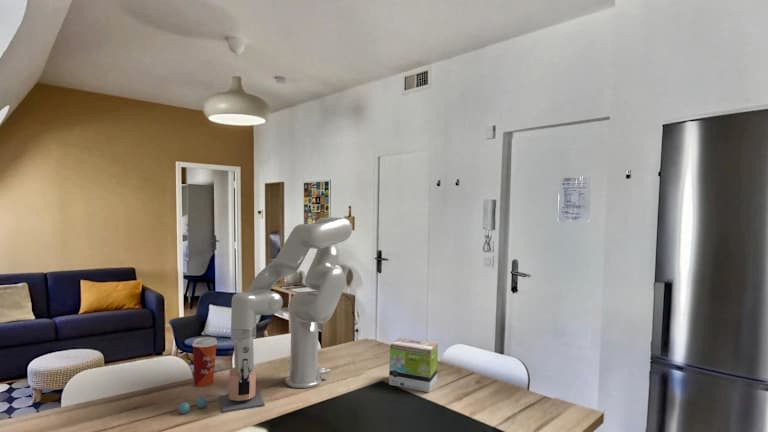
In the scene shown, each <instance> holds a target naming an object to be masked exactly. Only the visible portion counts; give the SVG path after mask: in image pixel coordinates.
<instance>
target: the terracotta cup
mask: <svg viewBox="0 0 768 432" xmlns="http://www.w3.org/2000/svg"><path fill="white" fill-rule="evenodd" d="M241 371H243V370H241ZM242 375H243V374H242ZM256 375H257V372H256V367H255V366H254V370H253V371H252V372H251V371H250V370H249V380H250V390H249V394H246V395H238V383H239V382H240V379H239V377H240V376H239V373H238V372H237V370H236V367H235V366H234V367H232V368H230V369H229V372H228V394H229V399H230V400H235V401H241V400H248V399H250V398H252V397H254V396H255V390H256V387H257V385H256V381H257V378H256Z"/></svg>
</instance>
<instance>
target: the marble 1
mask: <svg viewBox="0 0 768 432" xmlns="http://www.w3.org/2000/svg"><path fill="white" fill-rule="evenodd" d="M190 410H191V405H190V403H189V402H187V401H186V402H182V403H180V404H179V406H178V412H179V413H180V414H183V415H185V414H187V413H188V412H189V411H190Z"/></svg>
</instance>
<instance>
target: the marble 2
mask: <svg viewBox="0 0 768 432" xmlns="http://www.w3.org/2000/svg"><path fill="white" fill-rule="evenodd" d="M207 404H208V400H207V398H206V397H204V396H200V397H199V398H197V399H196V402H195V405H196V406H197V408H200V409H201V408H202V409H203V408H204V407H206V405H207Z"/></svg>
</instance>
